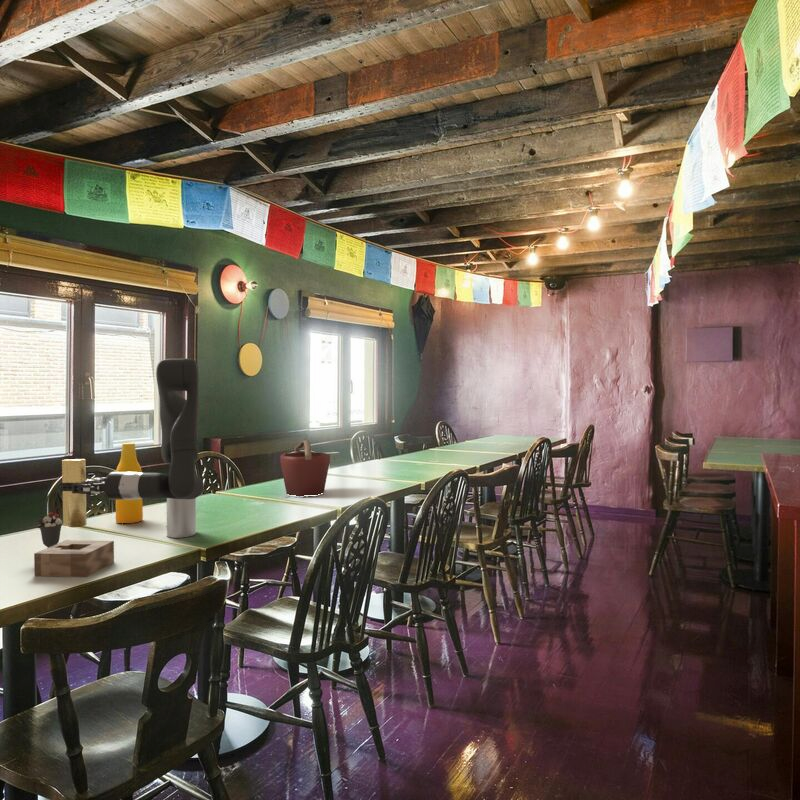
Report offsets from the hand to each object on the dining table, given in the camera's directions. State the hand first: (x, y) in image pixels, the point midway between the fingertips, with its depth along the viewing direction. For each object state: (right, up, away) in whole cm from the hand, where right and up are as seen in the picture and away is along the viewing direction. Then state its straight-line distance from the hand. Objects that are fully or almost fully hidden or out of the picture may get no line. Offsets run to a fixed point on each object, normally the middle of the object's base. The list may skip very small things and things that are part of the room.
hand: (67, 485), depth 168 cm
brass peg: (+3, -11, 0) cm, 11 cm away
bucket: (+48, -21, +117) cm, 128 cm away
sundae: (-10, -23, +10) cm, 27 cm away
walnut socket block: (+2, -23, 0) cm, 23 cm away
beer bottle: (-9, -22, +59) cm, 64 cm away
